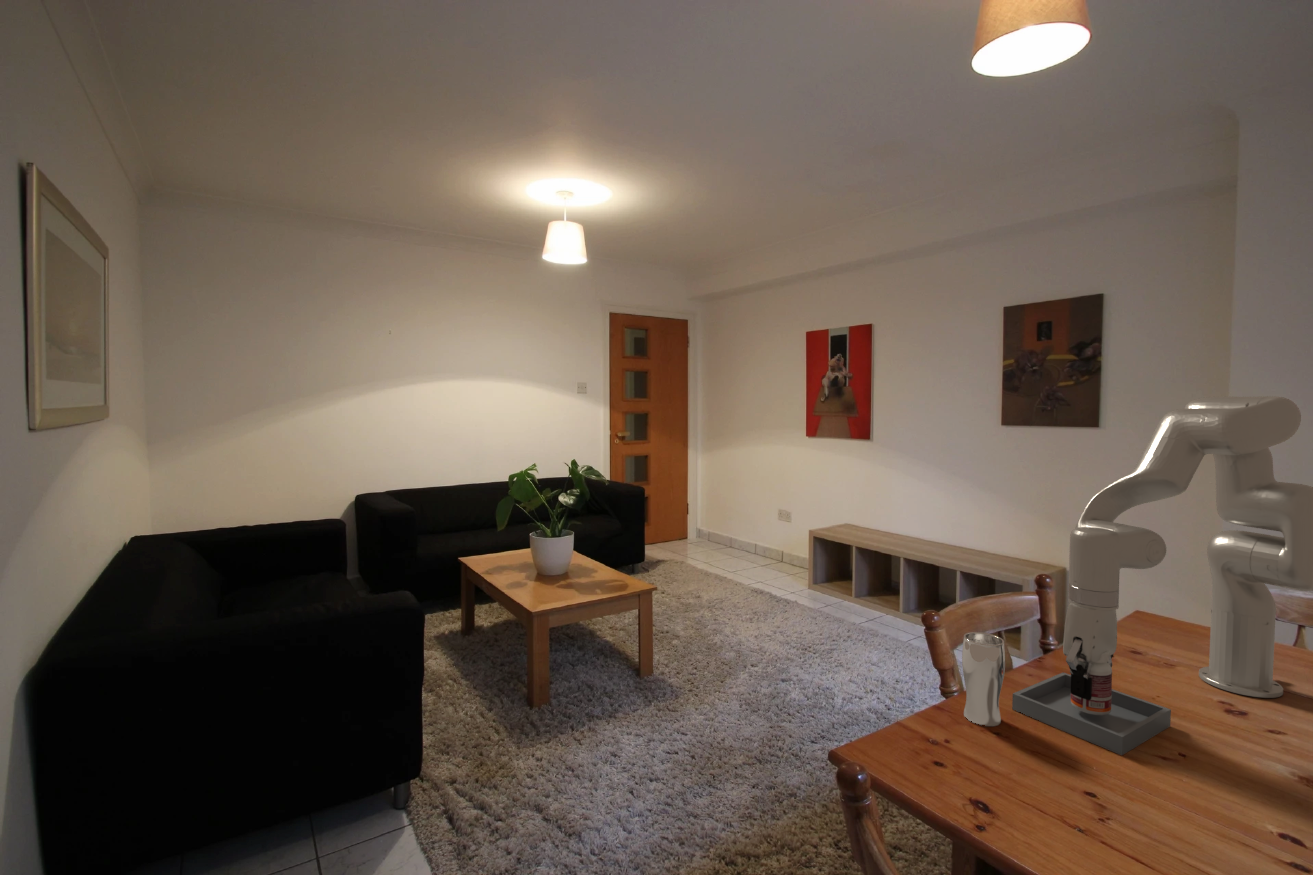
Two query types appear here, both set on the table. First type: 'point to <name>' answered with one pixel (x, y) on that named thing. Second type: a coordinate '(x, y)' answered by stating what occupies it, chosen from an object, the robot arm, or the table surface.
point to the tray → (1111, 731)
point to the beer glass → (983, 677)
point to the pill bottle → (1097, 688)
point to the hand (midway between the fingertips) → (1090, 691)
